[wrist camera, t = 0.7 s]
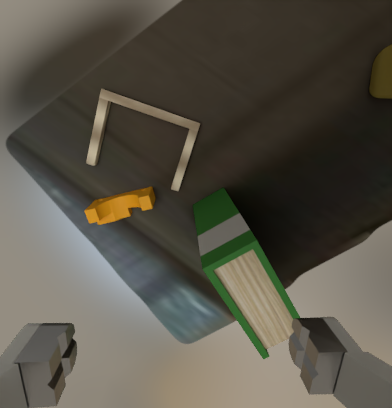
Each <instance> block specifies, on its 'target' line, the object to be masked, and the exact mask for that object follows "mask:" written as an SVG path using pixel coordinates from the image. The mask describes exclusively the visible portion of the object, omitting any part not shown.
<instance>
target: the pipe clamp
mask: <svg viewBox="0 0 392 408" xmlns="http://www.w3.org/2000/svg"><path fill="white" fill-rule="evenodd" d="M155 199H156V197H155V194H154V191H153V187H148V188H144V189H139V190H135V191H131V192H127V193H123V194H119V195H115V196H110V197H106V198H102V199H98V200H95V201H94V202H93V203H92V204H91V205H90V206H89V207H88V208H87V209H86V210H85V214H86V216H87V219H88V221H89V224H90V223H94V222H97V223H98V225H100V224H105V223H109V222H113V221H116V220H119V219H121V218H125V217H128V216H131V214H132V209H131V207H140V208H142V211H144V210H148V209H152V208H153V206H154V202H155Z"/></svg>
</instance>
